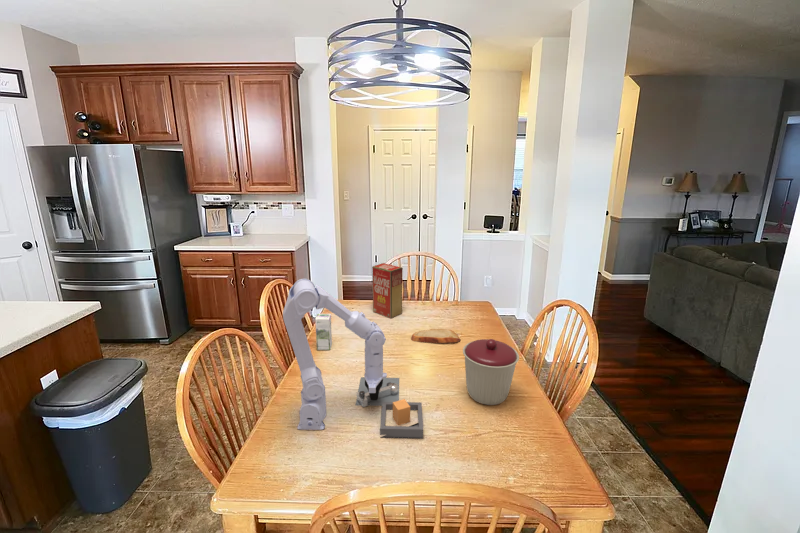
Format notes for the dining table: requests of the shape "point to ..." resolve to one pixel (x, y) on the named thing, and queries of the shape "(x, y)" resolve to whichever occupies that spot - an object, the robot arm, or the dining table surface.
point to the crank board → (385, 383)
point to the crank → (383, 392)
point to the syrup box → (323, 331)
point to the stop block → (401, 412)
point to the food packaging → (387, 290)
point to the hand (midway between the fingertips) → (374, 399)
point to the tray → (402, 431)
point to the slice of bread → (436, 336)
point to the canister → (489, 370)
